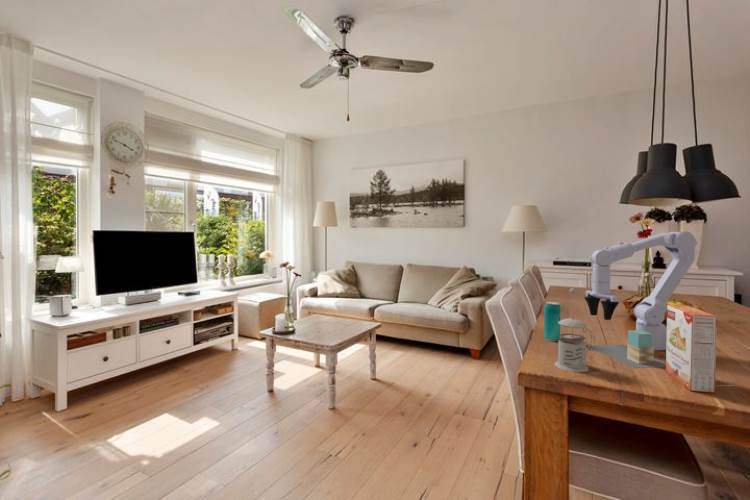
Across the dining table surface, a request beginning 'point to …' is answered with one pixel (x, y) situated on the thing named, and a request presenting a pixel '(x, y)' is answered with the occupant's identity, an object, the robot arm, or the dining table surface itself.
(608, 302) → the robot arm
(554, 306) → the beverage can
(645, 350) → the tower upper
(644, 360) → the tower lower
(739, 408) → the dining table surface
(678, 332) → the cracker box
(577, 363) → the french press
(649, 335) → the teal block
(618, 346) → the slate mat
